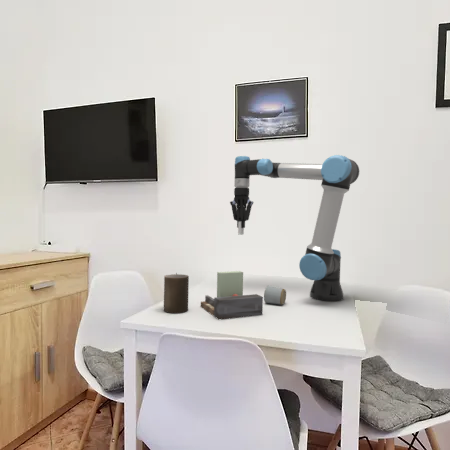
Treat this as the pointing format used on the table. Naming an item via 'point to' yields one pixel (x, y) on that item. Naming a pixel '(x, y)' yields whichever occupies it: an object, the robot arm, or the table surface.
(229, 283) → the sage green upright block
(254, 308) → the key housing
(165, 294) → the pillar candle
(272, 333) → the table surface
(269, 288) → the grey cylinder
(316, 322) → the table surface
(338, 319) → the table surface
